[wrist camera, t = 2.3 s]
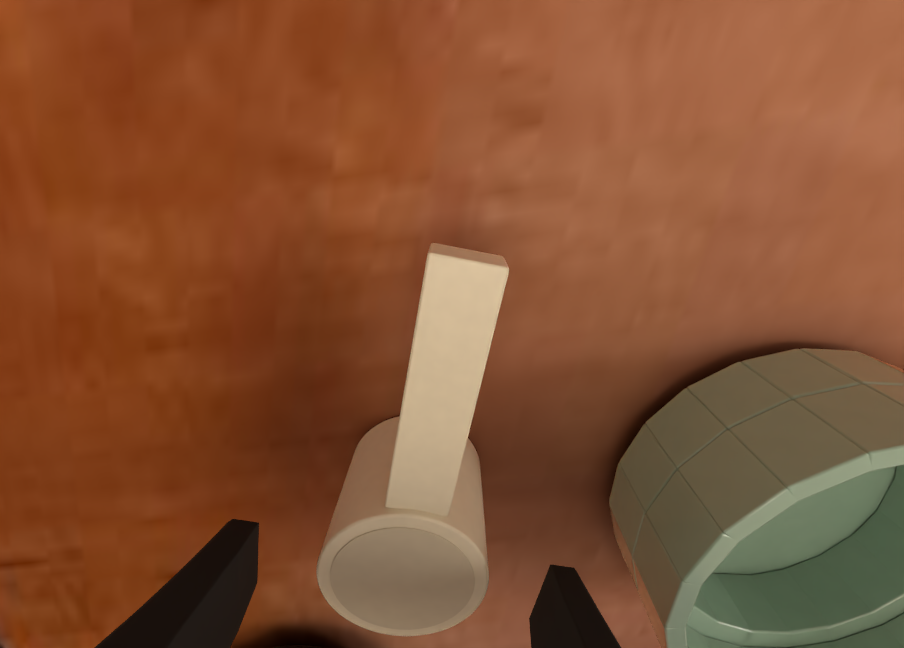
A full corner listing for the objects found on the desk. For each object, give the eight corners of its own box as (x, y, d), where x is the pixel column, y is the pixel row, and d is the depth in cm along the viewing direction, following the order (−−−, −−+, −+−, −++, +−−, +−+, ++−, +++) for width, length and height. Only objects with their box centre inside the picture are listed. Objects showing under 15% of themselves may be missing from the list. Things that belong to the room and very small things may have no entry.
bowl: (994, 404, 13) (1254, 523, 9) (786, 609, 16) (901, 765, 12) (714, 292, 12) (861, 368, 7) (554, 540, 15) (592, 688, 11)
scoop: (465, 523, 15) (469, 648, 11) (347, 506, 14) (309, 627, 11) (542, 242, 11) (586, 285, 7) (385, 211, 11) (348, 240, 7)
